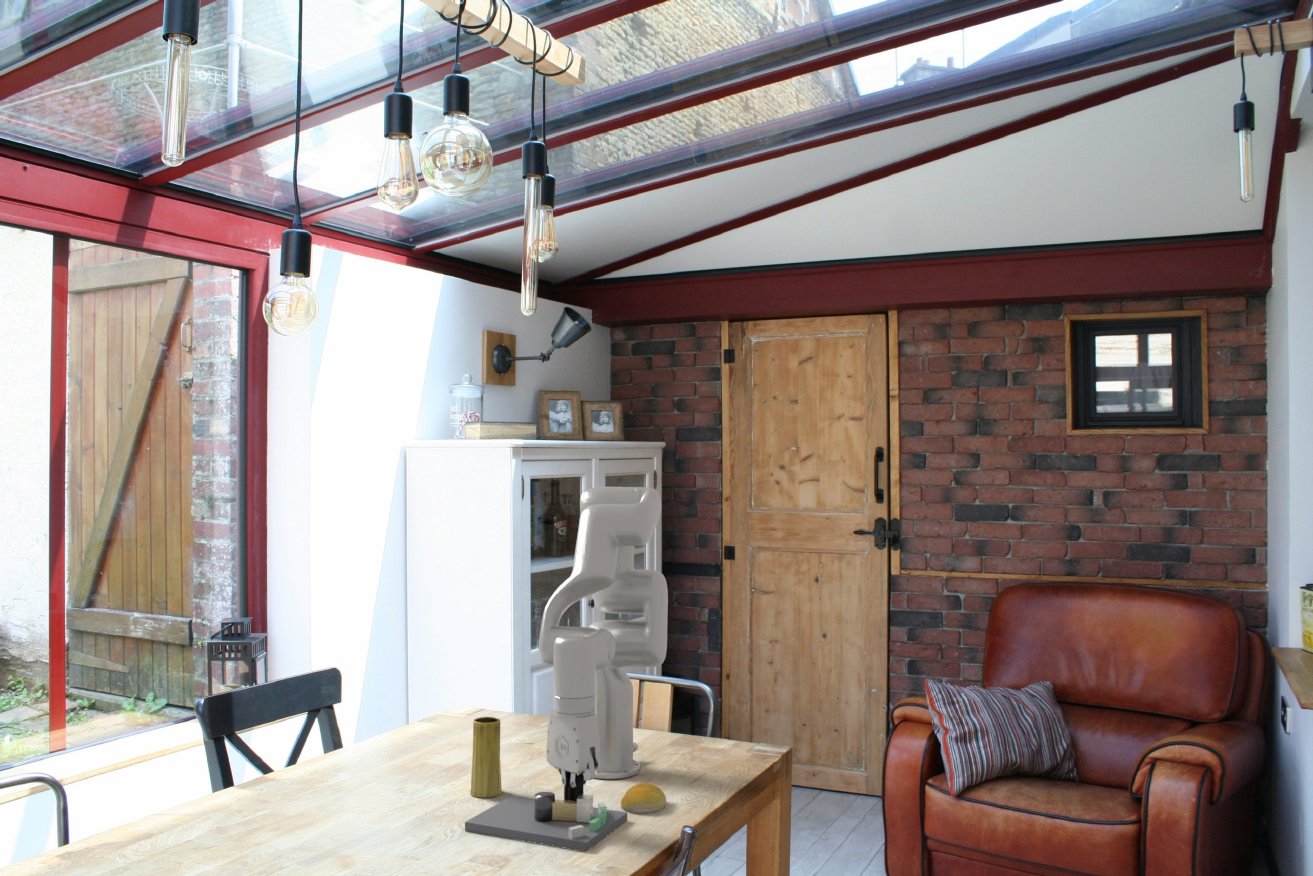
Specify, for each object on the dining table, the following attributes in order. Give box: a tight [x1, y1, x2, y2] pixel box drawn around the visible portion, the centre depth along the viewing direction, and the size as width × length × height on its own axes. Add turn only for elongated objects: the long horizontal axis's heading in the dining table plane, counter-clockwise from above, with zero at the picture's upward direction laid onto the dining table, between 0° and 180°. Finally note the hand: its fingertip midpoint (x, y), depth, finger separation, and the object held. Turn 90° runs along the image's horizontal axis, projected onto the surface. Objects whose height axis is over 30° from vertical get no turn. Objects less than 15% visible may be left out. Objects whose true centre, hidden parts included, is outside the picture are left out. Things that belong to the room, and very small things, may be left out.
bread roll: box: [620, 782, 667, 815], centre depth 185 cm, size 8×9×4 cm
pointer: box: [534, 791, 594, 823], centre depth 174 cm, size 10×4×4 cm, turn 82°
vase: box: [470, 716, 503, 799], centre depth 193 cm, size 6×6×14 cm
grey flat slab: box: [464, 795, 628, 852], centre depth 175 cm, size 16×24×3 cm, turn 67°
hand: (573, 807), depth 176 cm, fingers closed
